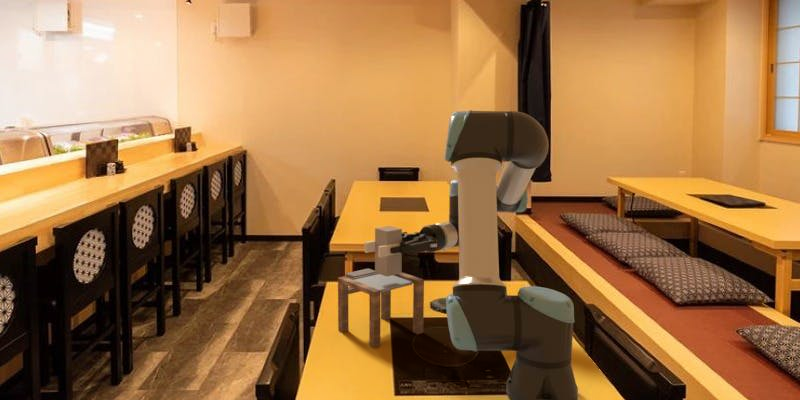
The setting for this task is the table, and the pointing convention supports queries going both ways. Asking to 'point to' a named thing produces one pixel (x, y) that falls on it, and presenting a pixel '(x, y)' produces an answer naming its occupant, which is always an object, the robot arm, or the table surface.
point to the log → (439, 305)
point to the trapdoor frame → (375, 305)
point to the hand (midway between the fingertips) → (372, 249)
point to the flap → (378, 280)
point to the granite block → (392, 262)
